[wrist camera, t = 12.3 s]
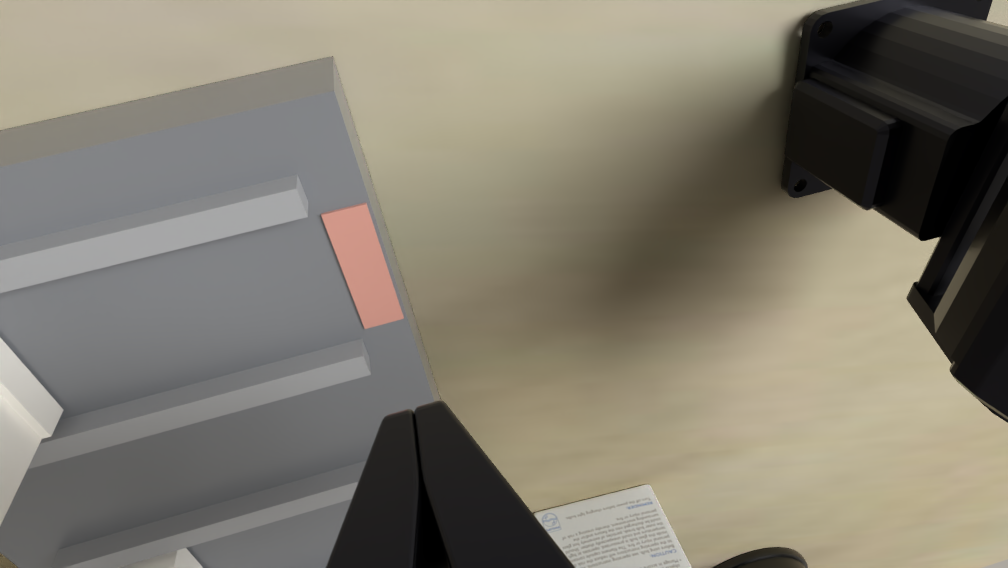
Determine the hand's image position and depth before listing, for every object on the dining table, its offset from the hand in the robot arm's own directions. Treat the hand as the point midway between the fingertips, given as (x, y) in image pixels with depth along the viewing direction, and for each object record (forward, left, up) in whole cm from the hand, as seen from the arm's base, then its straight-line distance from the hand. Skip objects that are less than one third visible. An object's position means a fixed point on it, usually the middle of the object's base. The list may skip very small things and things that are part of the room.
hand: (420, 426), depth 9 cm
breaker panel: (+8, +8, -12) cm, 17 cm away
